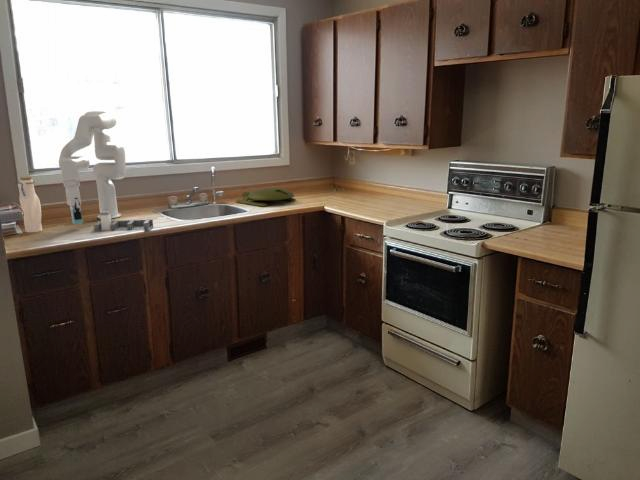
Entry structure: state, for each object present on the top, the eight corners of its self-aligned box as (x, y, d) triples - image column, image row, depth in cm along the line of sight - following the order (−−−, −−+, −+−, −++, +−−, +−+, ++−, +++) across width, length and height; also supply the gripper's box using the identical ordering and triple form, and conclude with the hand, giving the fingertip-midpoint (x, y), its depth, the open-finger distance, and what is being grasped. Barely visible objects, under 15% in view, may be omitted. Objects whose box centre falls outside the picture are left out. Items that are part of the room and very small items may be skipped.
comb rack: (98, 228, 268) (97, 221, 267) (153, 226, 272) (152, 219, 271) (91, 234, 257) (90, 226, 256) (149, 231, 260) (148, 223, 259)
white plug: (104, 228, 265) (101, 211, 262) (112, 227, 265) (110, 210, 263) (101, 229, 261) (99, 212, 258) (110, 229, 261) (108, 212, 259)
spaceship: (234, 203, 341) (233, 188, 338) (268, 197, 363) (267, 183, 361) (269, 209, 318) (269, 193, 316) (303, 202, 340) (303, 188, 338)
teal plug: (72, 223, 263) (69, 206, 261) (80, 221, 266) (78, 204, 263) (74, 224, 260) (71, 207, 258) (82, 223, 263) (80, 206, 260)
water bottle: (41, 232, 261) (33, 178, 254) (21, 234, 259) (13, 178, 252) (45, 228, 271) (38, 175, 264) (26, 229, 268) (18, 176, 261)
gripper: (59, 182, 261) (65, 217, 266) (67, 186, 249) (73, 222, 254) (75, 180, 266) (80, 214, 271) (84, 184, 253) (89, 220, 258)
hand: (77, 218), depth 262 cm, fingers closed on teal plug, 4 cm apart
